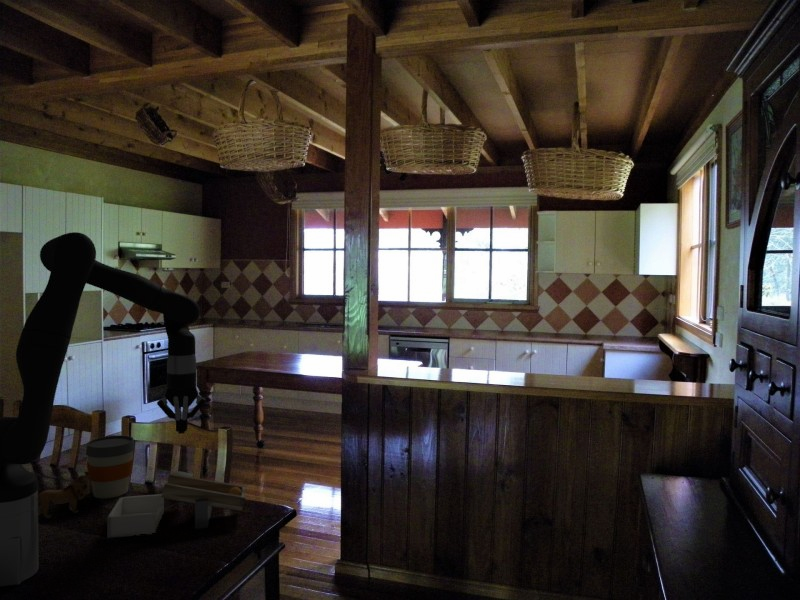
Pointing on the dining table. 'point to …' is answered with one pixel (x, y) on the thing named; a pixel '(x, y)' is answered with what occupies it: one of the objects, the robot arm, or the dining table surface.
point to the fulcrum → (202, 513)
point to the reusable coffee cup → (110, 465)
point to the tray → (135, 516)
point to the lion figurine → (65, 495)
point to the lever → (202, 491)
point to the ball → (235, 491)
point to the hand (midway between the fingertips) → (181, 432)
